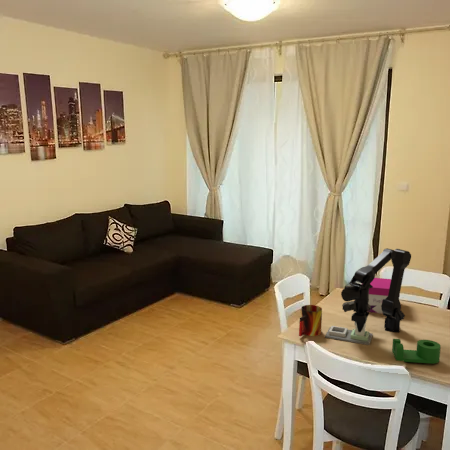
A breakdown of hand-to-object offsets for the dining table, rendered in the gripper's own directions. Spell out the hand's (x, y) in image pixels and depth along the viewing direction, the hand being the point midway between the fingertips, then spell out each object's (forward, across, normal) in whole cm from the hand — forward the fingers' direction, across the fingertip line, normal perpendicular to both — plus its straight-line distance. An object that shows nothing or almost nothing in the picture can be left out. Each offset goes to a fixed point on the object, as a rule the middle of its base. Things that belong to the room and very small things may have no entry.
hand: (360, 330), depth 210 cm
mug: (+4, +4, -22) cm, 23 cm away
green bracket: (+4, +10, +25) cm, 27 cm away
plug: (+3, 0, 0) cm, 3 cm away
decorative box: (+4, -43, +4) cm, 44 cm away
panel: (+4, 0, -5) cm, 6 cm away
